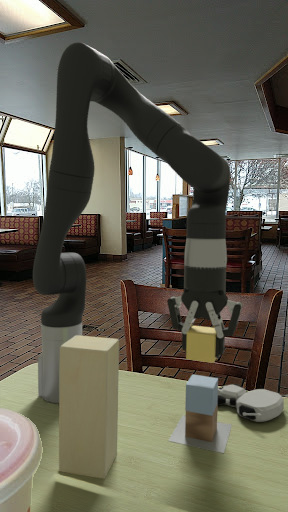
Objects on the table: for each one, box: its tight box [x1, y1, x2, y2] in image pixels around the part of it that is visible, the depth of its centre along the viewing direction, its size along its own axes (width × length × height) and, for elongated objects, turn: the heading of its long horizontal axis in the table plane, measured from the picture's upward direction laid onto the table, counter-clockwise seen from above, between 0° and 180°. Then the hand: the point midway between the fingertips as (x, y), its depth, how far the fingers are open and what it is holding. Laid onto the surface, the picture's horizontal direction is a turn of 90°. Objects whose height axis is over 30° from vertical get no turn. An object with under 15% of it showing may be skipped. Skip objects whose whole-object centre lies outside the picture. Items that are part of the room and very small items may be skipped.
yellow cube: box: [185, 325, 217, 364], centre depth 70 cm, size 5×5×5 cm
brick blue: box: [184, 374, 219, 416], centre depth 71 cm, size 5×5×5 cm
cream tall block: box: [58, 335, 120, 479], centre depth 62 cm, size 8×7×21 cm
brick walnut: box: [185, 404, 219, 442], centre depth 71 cm, size 5×5×5 cm
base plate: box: [167, 414, 233, 454], centre depth 71 cm, size 10×10×1 cm
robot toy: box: [217, 383, 288, 423], centre depth 81 cm, size 12×4×15 cm
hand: (203, 354), depth 70 cm, fingers closed on yellow cube, 5 cm apart
